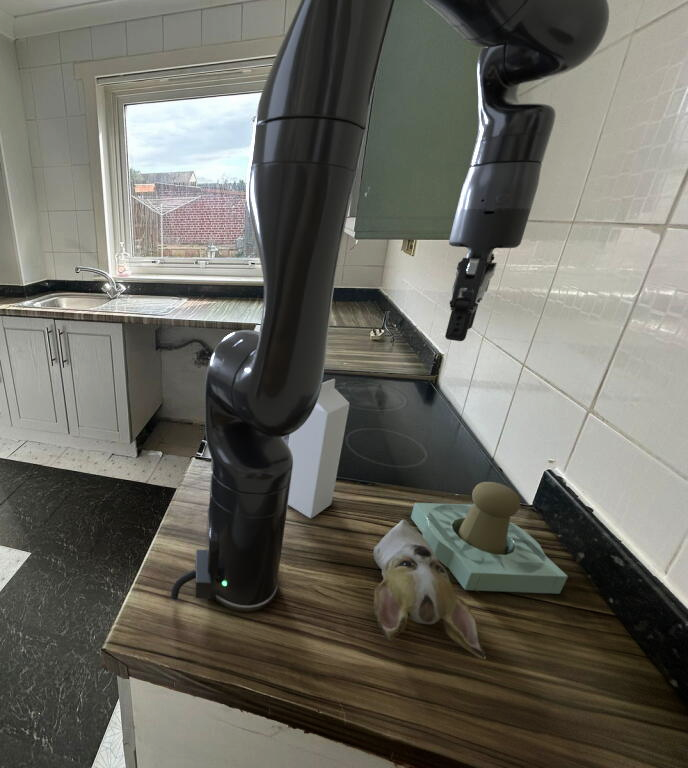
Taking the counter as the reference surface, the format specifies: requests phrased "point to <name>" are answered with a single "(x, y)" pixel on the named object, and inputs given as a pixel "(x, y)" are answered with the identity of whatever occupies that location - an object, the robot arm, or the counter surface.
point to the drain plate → (487, 554)
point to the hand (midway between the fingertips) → (458, 333)
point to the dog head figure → (419, 590)
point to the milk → (318, 452)
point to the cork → (489, 517)
